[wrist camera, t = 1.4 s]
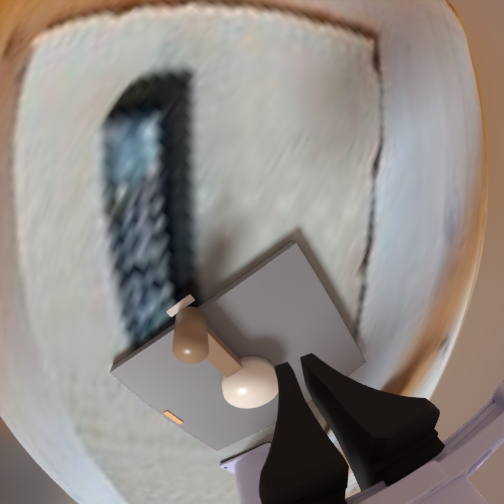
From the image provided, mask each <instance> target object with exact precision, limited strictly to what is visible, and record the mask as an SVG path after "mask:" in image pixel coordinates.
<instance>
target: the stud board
mask: <svg viewBox="0 0 504 504" xmlns="http://www.w3.org/2000/svg"><path fill="white" fill-rule="evenodd" d="M194 301H195V299H194V298H193V297H192V296H191V295H188V296H187V297H185V298H184V299H183V300H181V301H180V302H179V303H177V304H176V305H174V306H173V307H172V308H170V309H169V310H167V311H166V312H167V313H168V314H169V315H170V316H171V317H172V316H174V315H175V314H177V313H178V312H179V311H180V310H181V309H183V308H185V307H186V306H188V305H189V304H191V303H192V302H194ZM197 308H198V309H200V310H201V311H202V312H203V313H204V314H205V316H206V321H207V325H208V326H209V327H210V328H211V329H212V330H213V332H214V333H215V334H216V335H217V336H218V337H219V338H220V339H221V340H222V341H223V342H224V343H225V344H226V345H227V346H228V348H229V349H230V350H231V351H232V352H233V353H234V354H235V355H236V356H237V357H238V358H243V357H249V356H256V357H261V358H264V359H266V360H268V361H269V362H270V363H271V364H272V365H273V367H275V366H276V365H279V364H282V363H285V362H288V363H289V364H290V366H291V367H292V369H293V370H294V373H295V375H296V378H297V380H298V383H299V386H300V388H301V391H302V393H303V396H304V398H305V400H306V403H308V402H310V401H311V400H312V398H311V396H310V394H309V392H308V390H307V388H306V385H305V381H304V376H303V371H302V366H301V361H300V357H302V356H305V355H307V354H310V353H313V354H314V355H316V356H317V357H318V358H319V359H321V360H322V361H323V362H325V363H326V364H328V365H329V366H331V367H332V368H334V369H335V370H337V371H338V372H340V373H342V374H343V375H345V376H348V375H349V374H350V373H352V372H353V371H355V370H356V369H357V368H358V367H360V366H361V365H362V364H364V363H365V362H366V361H365V359H364V357H363V355H362V353H361V352H360V350H359V348H358V346H357V344H356V343H355V341H354V339H353V337H352V335H351V334H350V332H349V330H348V328H347V327H346V325H345V323H344V321H343V320H342V318H341V316H340V314H339V313H338V311H337V309H336V307H335V306H334V304H333V302H332V301H331V299H330V297H329V296H328V294H327V292H326V290H325V289H324V287H323V285H322V284H321V282H320V280H319V279H318V277H317V275H316V274H315V272H314V270H313V269H312V267H311V266H310V264H309V262H308V261H307V259H306V257H305V256H304V254H303V253H302V251H301V249H300V248H299V246H298V245H297V243H296V242H294V241H293V240H292V241H290V242H289V243H288V244H286V245H285V246H283V247H282V248H281V249H279V250H278V251H276V252H275V253H274V254H272V255H271V256H269V257H268V258H267V259H265V260H264V261H262V262H261V263H260V264H258V265H257V266H255V267H254V268H253V269H251V270H250V271H248V272H247V273H246V274H244V275H243V276H241V277H240V278H239V279H237V280H236V281H234V282H233V283H232V284H230V285H229V286H227V287H226V288H224V289H223V290H222V291H220V292H219V293H217V294H216V295H215V296H213V297H212V298H210V299H209V300H207V301H206V302H205V303H203V304H202V305H200V306H199V307H197ZM174 327H175V323H174V324H173V325H172V326H170V327H169V328H167V329H166V330H164V331H163V332H161V333H160V334H158V335H157V336H156V337H154V338H153V339H151V340H150V341H148V342H147V343H145V344H144V345H142V346H141V347H139V348H138V349H137V350H135V351H134V352H132V353H131V354H129V355H128V356H126V357H125V358H123V359H122V360H120V361H119V362H117V363H116V364H114V365H113V366H112V368H111V371H110V373H111V374H112V375H113V376H115V377H116V378H117V379H118V380H119V381H120V382H121V383H122V384H124V385H125V386H126V387H127V388H128V389H129V390H131V391H132V392H133V393H134V394H135V395H137V396H138V397H139V398H140V399H142V400H143V401H144V402H145V403H147V404H148V405H149V406H151V407H152V408H153V409H155V410H156V411H157V412H159V413H160V414H161V415H163V416H164V417H165V418H167V419H168V420H170V421H171V422H173V423H174V424H175V425H177V426H178V427H180V428H181V429H183V430H184V431H186V432H187V433H189V434H190V435H192V436H194V437H195V438H197V439H198V440H200V441H202V442H203V443H205V444H207V445H208V446H210V447H212V448H213V449H215V450H220V449H222V448H224V447H227V446H229V445H231V444H233V443H235V442H237V441H239V440H242V439H244V438H246V437H248V436H250V435H252V434H254V433H256V432H258V431H259V430H261V429H263V428H265V427H267V426H269V425H271V424H273V423H274V422H276V421H277V413H278V393H277V395H276V396H275V397H274V398H273V399H272V400H271V401H270V402H268V403H266V404H264V405H262V406H259V407H256V408H248V409H246V408H238V407H235V406H233V405H231V404H229V403H228V402H227V401H226V400H225V398H224V395H223V390H222V384H221V375H222V373H221V372H220V371H219V370H218V369H217V368H216V367H215V366H214V365H212V364H211V363H210V362H209V361H208V360H207V359H205V360H204V361H202V362H200V363H197V364H186V363H183V362H181V361H179V360H178V359H177V358H176V357H175V356H174V354H173V352H172V344H173V335H174Z"/></svg>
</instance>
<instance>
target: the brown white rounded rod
mask: <svg viewBox="0 0 504 504" xmlns="http://www.w3.org/2000/svg"><path fill="white" fill-rule="evenodd" d="M172 352H173V354H174V356H175V357H176V358H177V359H178V360H179V361H181V362H183V363H186V364H197V363H200V362H202V361H204V360H205V359H207V360H208V361H209V362H210V363H211V364H212V365H214V366H215V367H216V368H217V369H218V370H219V371H220V372H221V373H222V375H221V384H222V390H223V395H224V398H225V400H226V401H227V402H228V403H229V404H231V405H233V406H235V407H238V408H246V409H248V408H256V407H259V406H262V405H264V404H266V403H268V402H270V401H271V400H272V399H273V398H274V397H275V396H276V395H277V393H278V381H277V377H276V373H275V369H274V367H273V365H272V364H271V363H270V362H269V361H268V360H266V359H264V358H261V357H256V356H249V357H243V358H238V357H237V356H236V355H235V354H234V353H233V352H232V351H231V350H230V349H229V348H228V346H227V345H226V344H225V343H224V342H223V341H222V340H221V339H220V338H219V337H218V336H217V335H216V334H215V333H214V332H213V330H212V329H211V328H210V327H209V326H208V325H207V321H206V316H205V314H204V313H203V312H202V311H201V310H200V309H198V308H196V307H185V308H183V309H181V310H180V311H179V312H178V313H177V315H176V319H175V327H174V335H173V344H172Z"/></svg>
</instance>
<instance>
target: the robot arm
mask: <svg viewBox="0 0 504 504" xmlns="http://www.w3.org/2000/svg"><path fill="white" fill-rule="evenodd" d="M300 361H301V366H302V371H303V376H304V381H305V385H306V388H307V390H308V392H309V394H310V396H311V398H312V400H313V402H314V403H315V405H316V407H317V408H318V410H319V411H320V413H321V414H322V416H323V417H324V419H325V420H326V422H327V424H328V425H329V427H330V428H331V430H332V431H333V433H334V435H335V436H336V438H337V440H338V442H339V444H340V446H341V448H342V450H343V452H344V454H345V457H346V459H347V461H348V463H349V465H350V467H351V469H352V471H353V473H354V476H355V478H356V480H357V482H358V485H359V487H360V489H361V492H359V493H357V494H355V495H353V496H351V497H348V498H346V499H345V491H346V488H347V484H348V470H349V466H348V464H347V462H346V461H345V459H344V457H343V455H342V454H341V453H340V452H339V450H338V449H337V448H336V447H335V445H334V444H333V443H332V441H331V440H330V439H329V437H328V436H327V434H326V433H325V431H324V430H323V429H322V427H321V426H320V424H319V422H318V421H317V419H316V418H315V416H314V414H313V413H312V411H311V409H310V408H309V406H308V404H307V403H306V400H305V398H304V396H303V393H302V391H301V388H300V386H299V383H298V380H297V378H296V375H295V373H294V370H293V369H292V367H291V366H290V364H289V363H288V362H285V363H282V364H279V365H276V366H275V367H274V369H275V373H276V377H277V381H278V413H277V421H276V427H275V432H274V436H273V440H272V444H271V443H265V444H263V445H261V446H259V447H257V448H255V449H253V450H251V451H249V452H246V453H244V454H242V455H240V456H237V457H235V458H233V459H230V460H228V461H226V462H223V463H221V464H220V468H222V469H225V470H227V471H229V472H231V473H233V474H234V475H235V479H236V484H237V489H238V494H239V498H240V503H241V504H488V503H487V502H486V500H485V499H484V498H483V497H482V496H481V495H480V493H479V492H478V491H477V490H476V489H475V488H474V486H473V485H472V484H471V483H470V482H469V480H468V479H467V478H468V477H469V476H470V475H471V474H472V473H474V472H475V471H476V470H477V469H478V468H479V467H480V466H481V465H482V464H483V463H484V462H485V461H486V460H487V459H488V458H489V457H490V456H491V455H492V454H493V453H494V451H495V450H496V449H497V448H498V447H499V446H500V445H501V444H502V443H503V442H504V380H503V382H502V383H501V384H500V385H499V386H498V387H497V389H496V391H495V392H494V394H493V396H492V399H491V400H490V401H489V402H488V403H487V404H486V405H485V406H484V407H483V408H482V409H481V410H480V411H479V412H478V413H477V414H475V415H474V416H473V417H472V418H471V419H470V420H469V421H468V422H466V423H465V424H464V425H463V426H462V427H461V428H460V429H458V430H457V431H456V432H455V433H454V434H452V435H451V436H450V437H448V438H447V439H446V440H445V441H443V442H441V440H440V439H439V438H438V437H437V435H438V432H437V431H436V430H435V429H434V428H435V426H436V423H437V421H438V418H439V415H440V411H439V409H437V407H436V406H435V405H434V404H432V403H431V402H430V401H429V400H427V399H426V398H416V397H406V396H400V395H395V394H391V393H387V392H383V391H379V390H376V389H373V388H371V387H368V386H366V385H363V384H361V383H359V382H357V381H355V380H353V379H351V378H349V377H347V376H345V375H343V374H342V373H340V372H338V371H337V370H335V369H334V368H332V367H331V366H329V365H328V364H326V363H325V362H323V361H322V360H321V359H319V358H318V357H317V356H316V355H314V354H313V353H310V354H307V355H305V356H302V357H300Z"/></svg>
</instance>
